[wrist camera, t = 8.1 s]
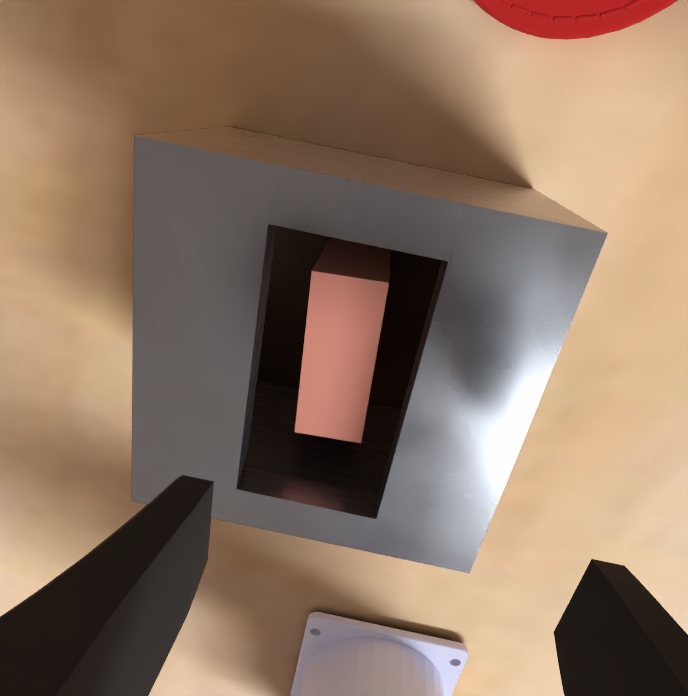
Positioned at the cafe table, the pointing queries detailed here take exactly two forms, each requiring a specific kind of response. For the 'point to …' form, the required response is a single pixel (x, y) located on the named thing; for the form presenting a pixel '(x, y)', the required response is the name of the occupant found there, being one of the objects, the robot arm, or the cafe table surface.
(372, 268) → the tall pink block
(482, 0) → the tracker holder
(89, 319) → the cafe table surface
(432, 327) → the box with rectangular hole
